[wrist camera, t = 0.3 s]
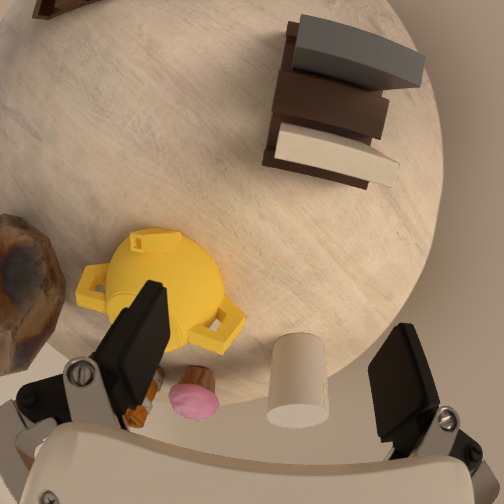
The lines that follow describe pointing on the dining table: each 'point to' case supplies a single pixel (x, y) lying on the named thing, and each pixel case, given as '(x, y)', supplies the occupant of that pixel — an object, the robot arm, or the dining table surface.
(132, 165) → the dining table surface
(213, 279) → the teapot
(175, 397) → the cupcake
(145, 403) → the mug
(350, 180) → the rack
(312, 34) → the grey book
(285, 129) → the white book
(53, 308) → the planter
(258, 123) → the dining table surface
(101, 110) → the dining table surface
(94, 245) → the dining table surface
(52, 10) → the rack
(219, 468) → the robot arm
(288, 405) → the cup
